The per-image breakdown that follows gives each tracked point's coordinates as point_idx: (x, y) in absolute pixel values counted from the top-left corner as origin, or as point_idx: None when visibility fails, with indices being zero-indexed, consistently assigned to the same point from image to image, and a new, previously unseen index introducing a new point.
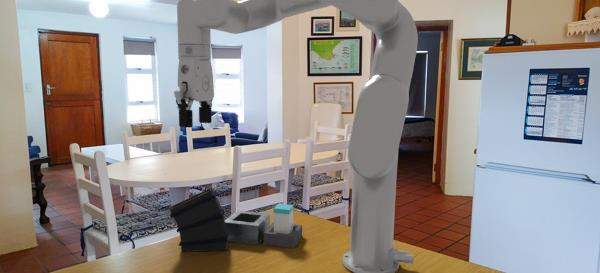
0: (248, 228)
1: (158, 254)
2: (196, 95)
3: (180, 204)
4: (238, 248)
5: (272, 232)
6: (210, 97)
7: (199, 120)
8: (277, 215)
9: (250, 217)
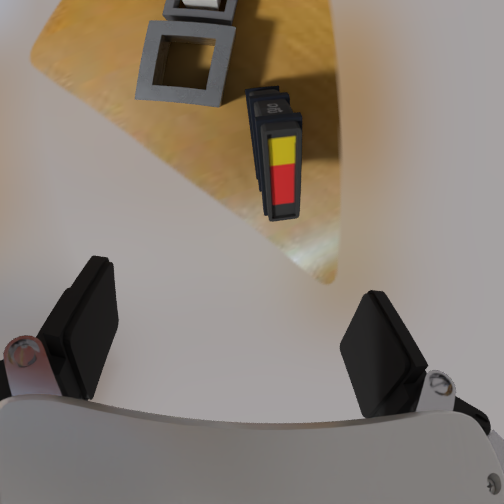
0: (231, 48)
1: None
2: (488, 443)
3: (298, 197)
4: (256, 68)
5: (226, 4)
6: (120, 437)
7: (116, 330)
8: None
9: (157, 62)
